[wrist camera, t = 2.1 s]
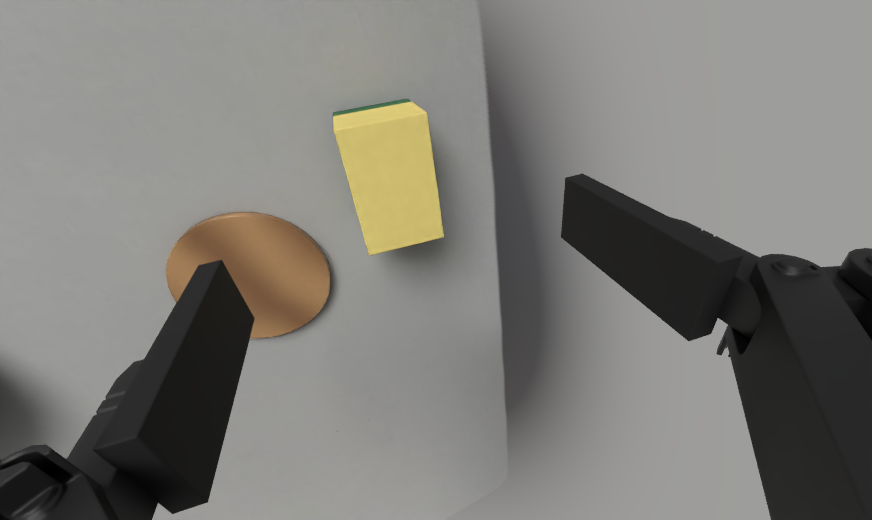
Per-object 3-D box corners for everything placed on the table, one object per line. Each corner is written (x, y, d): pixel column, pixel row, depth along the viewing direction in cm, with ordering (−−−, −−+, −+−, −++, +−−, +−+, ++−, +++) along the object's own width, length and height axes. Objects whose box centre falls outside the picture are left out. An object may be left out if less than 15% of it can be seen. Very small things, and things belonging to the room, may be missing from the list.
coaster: (239, 179, 21) (237, 182, 20) (359, 274, 26) (359, 279, 26) (133, 282, 22) (129, 287, 22) (267, 352, 28) (266, 358, 27)
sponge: (332, 112, 20) (333, 130, 16) (408, 98, 21) (427, 112, 17) (362, 219, 24) (369, 256, 20) (425, 205, 25) (444, 237, 21)
